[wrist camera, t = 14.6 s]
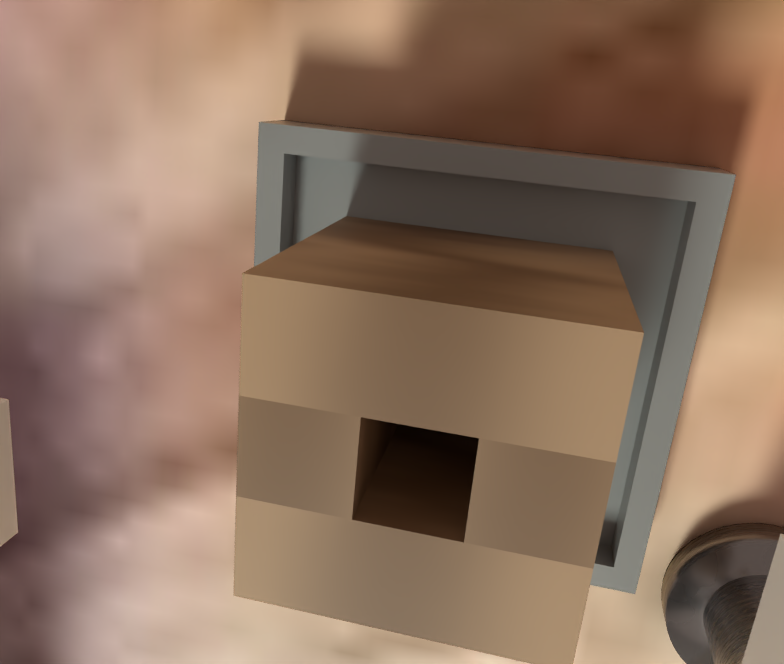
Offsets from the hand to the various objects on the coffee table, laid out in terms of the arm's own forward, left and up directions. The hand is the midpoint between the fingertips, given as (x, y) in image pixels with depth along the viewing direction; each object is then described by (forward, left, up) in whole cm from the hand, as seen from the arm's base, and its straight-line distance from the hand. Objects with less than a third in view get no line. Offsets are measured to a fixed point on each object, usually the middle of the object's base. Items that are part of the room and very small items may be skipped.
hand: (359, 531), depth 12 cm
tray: (+1, 0, -9) cm, 9 cm away
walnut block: (+1, 0, -9) cm, 9 cm away
